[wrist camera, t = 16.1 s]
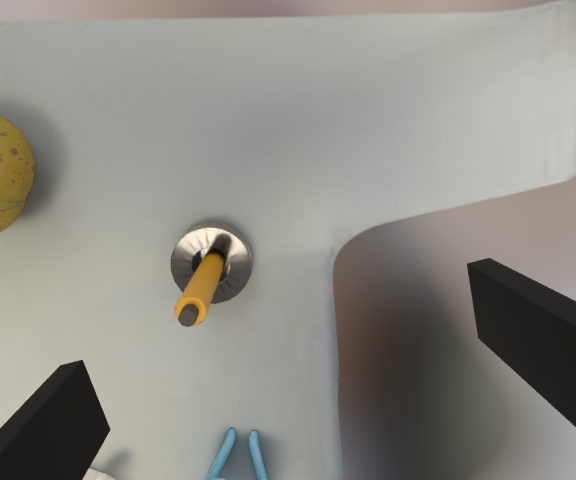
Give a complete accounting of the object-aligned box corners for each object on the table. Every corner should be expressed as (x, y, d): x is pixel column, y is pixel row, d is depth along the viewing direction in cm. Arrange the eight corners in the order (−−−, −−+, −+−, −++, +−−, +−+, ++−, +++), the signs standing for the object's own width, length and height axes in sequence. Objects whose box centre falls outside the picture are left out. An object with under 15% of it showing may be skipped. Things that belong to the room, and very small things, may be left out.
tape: (167, 231, 42) (160, 238, 39) (240, 213, 42) (238, 218, 39) (189, 300, 43) (184, 311, 40) (260, 283, 43) (259, 292, 40)
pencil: (201, 251, 42) (166, 307, 27) (222, 246, 42) (198, 299, 27) (207, 271, 43) (176, 337, 28) (228, 266, 43) (207, 329, 28)
